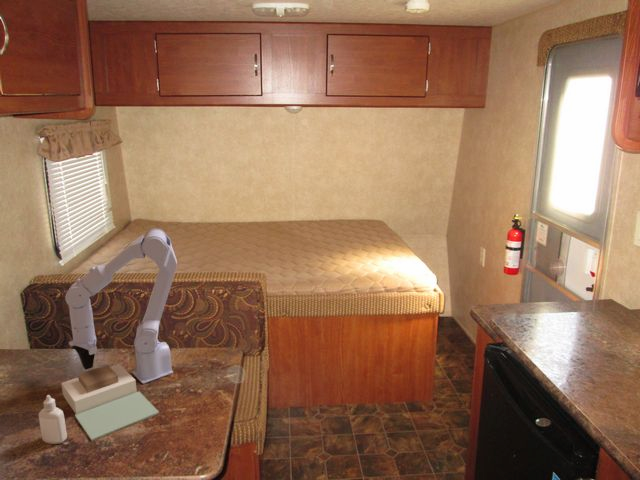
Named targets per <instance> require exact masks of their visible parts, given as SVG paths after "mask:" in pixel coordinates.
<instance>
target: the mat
mask: <svg viewBox="0 0 640 480" xmlns="http://www.w3.org/2000/svg"><path fill="white" fill-rule="evenodd" d="M159 414H160V411H159V410H158V409H157V408H156V407H155V406H154V405H153V404H152V402H151V401H149V400H148V399H147V398H146V397H145V395H144V394H142V392H141V391H137V392H136V393H133V394H131V395H128V396H125V397H122V398H120V399H117V400H114V401H112V402H109V403H106V404H104V405H101V406H98V407H95V408H93V409H90V410H87V411H85V412H82V413H79V414H76V413H75V415H74V417H75V419H76V421H78V423H79V424H80V426H81V427H82V429H83V430H84V432H85V433H86V435H87V436H88V438H89V439H90V441H91V442H94V441H97V440H98V439H100V438H103V437H105V436H108V435H110V434H113V433H115V432H118V431H121V430H123V429H125V428H128V427H130V426H133V425H135V424H137V423H138V424H139V423H140V422H143V421H144V420H147V419H150V418H152V417H154V416H156V415H159Z"/></svg>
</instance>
